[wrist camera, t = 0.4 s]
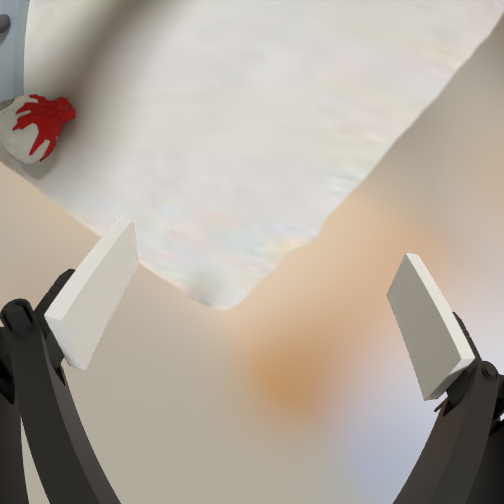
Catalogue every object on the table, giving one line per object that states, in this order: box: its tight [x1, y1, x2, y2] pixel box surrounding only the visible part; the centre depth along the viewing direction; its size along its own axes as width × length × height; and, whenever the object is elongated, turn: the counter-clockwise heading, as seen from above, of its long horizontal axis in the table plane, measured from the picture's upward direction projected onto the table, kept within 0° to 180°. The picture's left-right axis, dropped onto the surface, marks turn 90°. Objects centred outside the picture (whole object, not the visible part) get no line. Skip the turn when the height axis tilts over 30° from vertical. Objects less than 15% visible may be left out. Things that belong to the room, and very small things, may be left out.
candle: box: [0, 94, 76, 164], centre depth 32 cm, size 9×11×15 cm
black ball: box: [0, 14, 10, 33], centre depth 21 cm, size 4×4×4 cm
